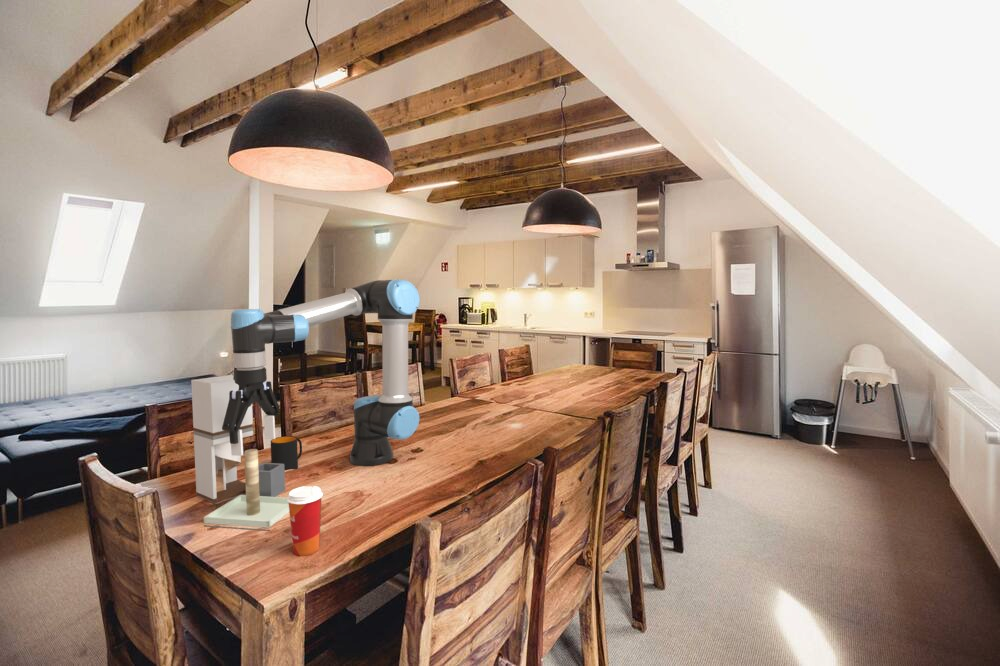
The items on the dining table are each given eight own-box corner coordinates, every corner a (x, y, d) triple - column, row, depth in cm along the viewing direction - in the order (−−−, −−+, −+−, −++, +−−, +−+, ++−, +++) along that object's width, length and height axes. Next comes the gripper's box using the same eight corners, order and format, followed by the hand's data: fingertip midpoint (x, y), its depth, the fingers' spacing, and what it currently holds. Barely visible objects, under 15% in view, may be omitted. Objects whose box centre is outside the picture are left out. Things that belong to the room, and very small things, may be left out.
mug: (311, 463, 168) (310, 434, 168) (284, 474, 157) (283, 444, 156) (292, 460, 171) (292, 432, 171) (265, 471, 160) (264, 441, 159)
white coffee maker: (216, 507, 133) (210, 383, 130) (196, 498, 138) (191, 380, 136) (255, 493, 142) (251, 377, 140) (235, 485, 148) (231, 374, 145)
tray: (299, 507, 133) (299, 498, 133) (269, 531, 119) (268, 521, 119) (240, 503, 135) (240, 494, 135) (203, 526, 121) (203, 517, 121)
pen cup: (285, 493, 142) (284, 463, 142) (271, 502, 136) (270, 472, 135) (264, 491, 143) (263, 462, 143) (249, 501, 137) (248, 470, 136)
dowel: (262, 510, 128) (260, 449, 127) (255, 516, 125) (252, 453, 124) (251, 509, 129) (249, 448, 127) (244, 515, 126) (241, 452, 124)
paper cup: (295, 542, 114) (293, 485, 113) (328, 540, 114) (326, 484, 113) (283, 559, 106) (281, 499, 105) (318, 558, 107) (316, 497, 106)
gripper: (266, 360, 138) (270, 432, 139) (201, 376, 113) (207, 462, 115) (290, 361, 137) (293, 432, 138) (230, 376, 112) (235, 463, 114)
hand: (254, 446), depth 127 cm, fingers open, 13 cm apart
